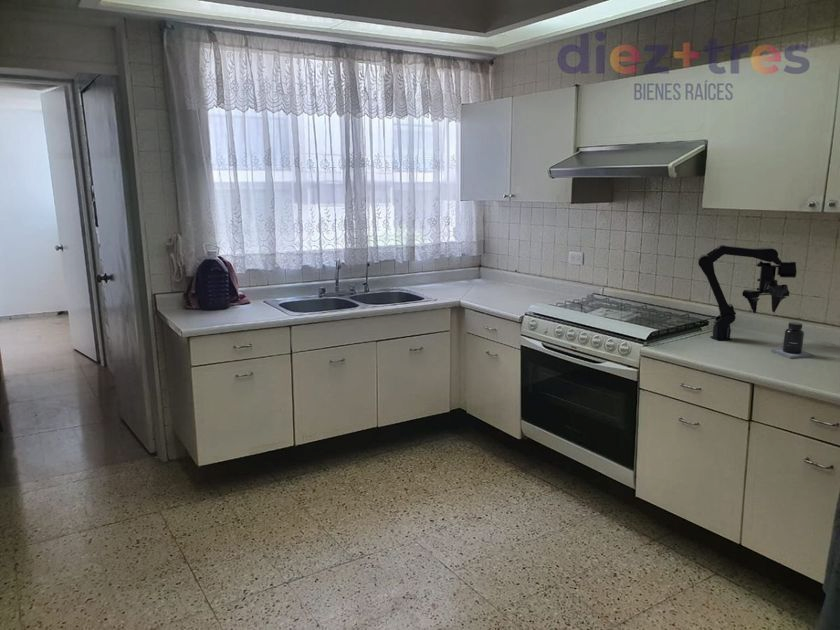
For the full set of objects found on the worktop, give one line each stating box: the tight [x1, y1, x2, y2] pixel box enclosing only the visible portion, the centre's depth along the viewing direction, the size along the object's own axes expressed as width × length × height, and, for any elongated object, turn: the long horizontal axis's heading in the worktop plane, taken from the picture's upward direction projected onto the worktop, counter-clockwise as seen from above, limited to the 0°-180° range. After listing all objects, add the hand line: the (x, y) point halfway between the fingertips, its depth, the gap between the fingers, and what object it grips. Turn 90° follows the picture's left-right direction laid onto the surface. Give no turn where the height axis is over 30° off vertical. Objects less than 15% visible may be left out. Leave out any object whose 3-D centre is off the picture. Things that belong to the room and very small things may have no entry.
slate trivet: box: [770, 348, 816, 360], centre depth 253 cm, size 11×11×1 cm
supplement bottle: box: [782, 321, 805, 354], centre depth 252 cm, size 7×7×12 cm
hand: (764, 312), depth 271 cm, fingers open, 9 cm apart
